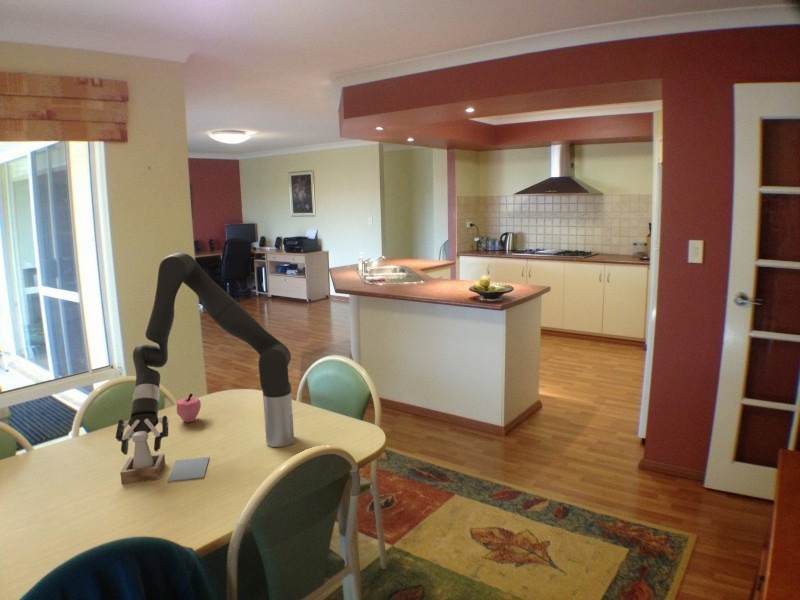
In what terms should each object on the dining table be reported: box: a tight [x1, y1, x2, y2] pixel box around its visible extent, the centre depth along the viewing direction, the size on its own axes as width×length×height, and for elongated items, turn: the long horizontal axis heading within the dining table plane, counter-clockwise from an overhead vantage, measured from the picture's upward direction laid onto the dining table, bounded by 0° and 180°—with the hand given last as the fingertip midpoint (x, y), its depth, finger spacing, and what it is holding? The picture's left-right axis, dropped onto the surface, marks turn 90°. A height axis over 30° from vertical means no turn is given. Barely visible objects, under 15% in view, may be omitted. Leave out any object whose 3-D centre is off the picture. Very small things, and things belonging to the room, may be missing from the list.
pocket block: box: [119, 452, 166, 484], centre depth 163 cm, size 10×10×4 cm
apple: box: [176, 393, 202, 423], centre depth 202 cm, size 10×9×10 cm
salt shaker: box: [131, 431, 154, 469], centre depth 163 cm, size 6×6×13 cm
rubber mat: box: [167, 456, 210, 483], centre depth 165 cm, size 10×13×1 cm
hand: (140, 452), depth 161 cm, fingers open, 8 cm apart
